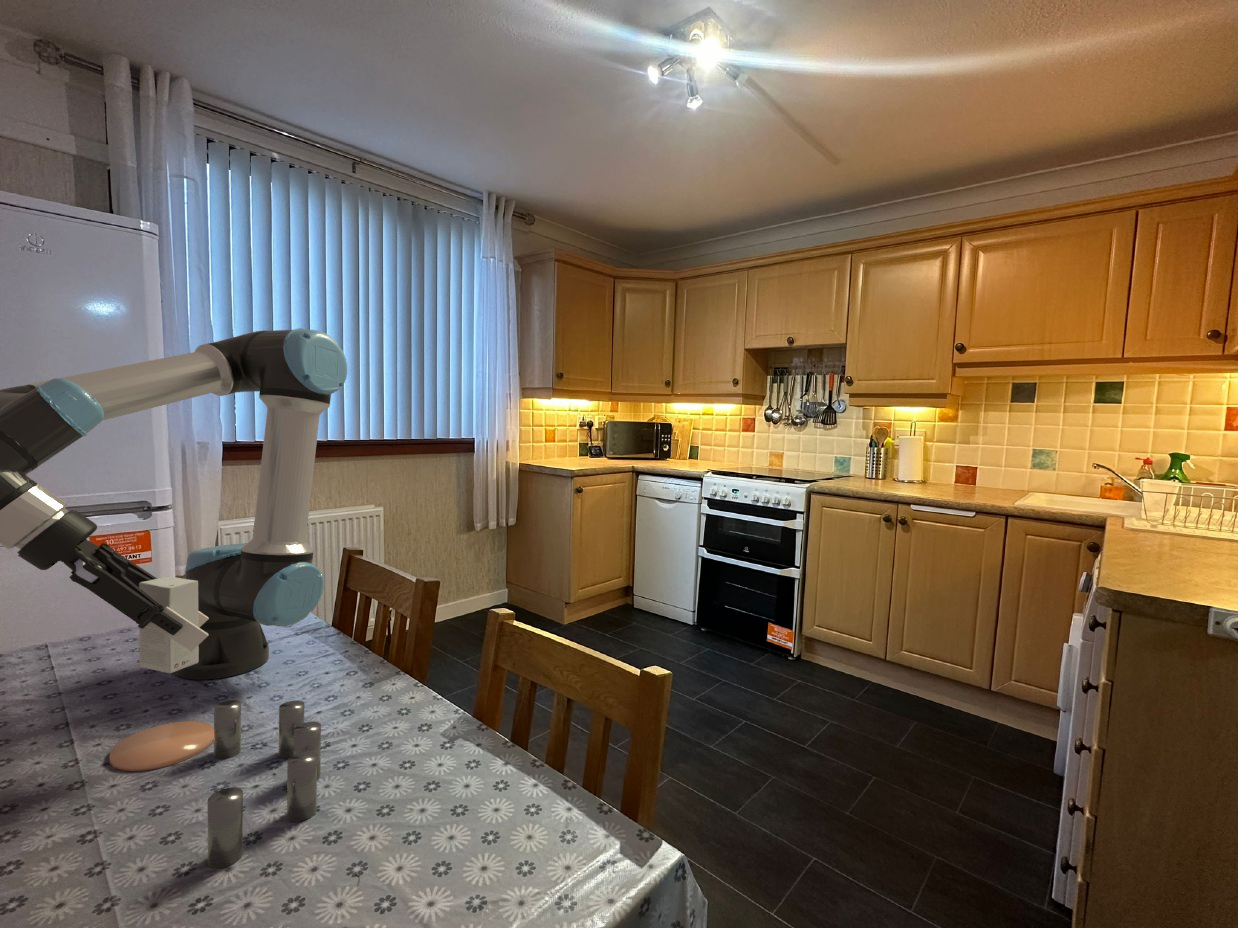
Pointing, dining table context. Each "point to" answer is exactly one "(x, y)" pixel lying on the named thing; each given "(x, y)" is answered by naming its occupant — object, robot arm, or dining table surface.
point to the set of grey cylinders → (227, 804)
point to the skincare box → (156, 645)
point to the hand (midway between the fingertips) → (200, 633)
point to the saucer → (161, 746)
